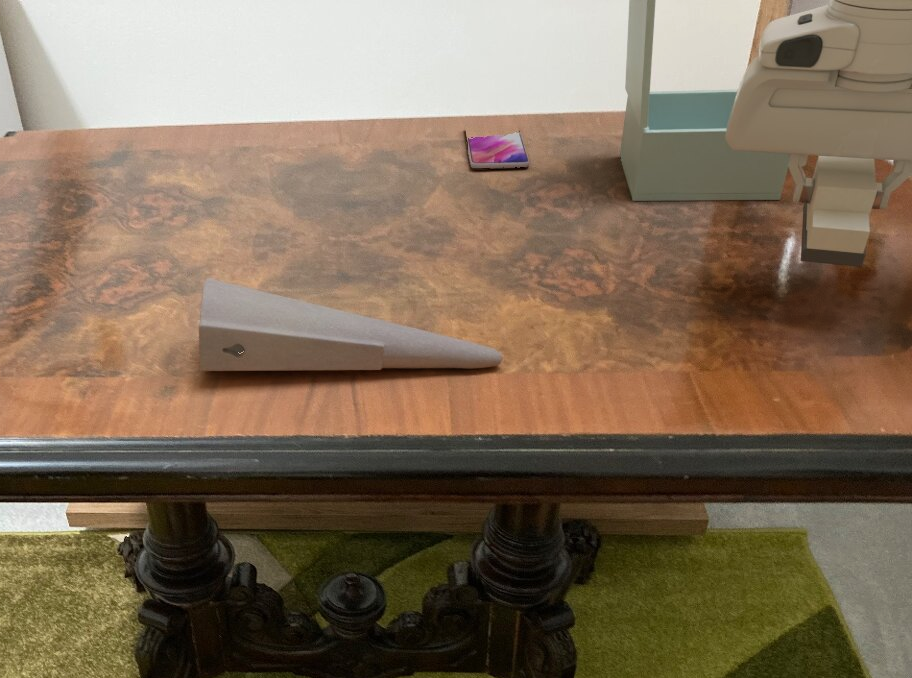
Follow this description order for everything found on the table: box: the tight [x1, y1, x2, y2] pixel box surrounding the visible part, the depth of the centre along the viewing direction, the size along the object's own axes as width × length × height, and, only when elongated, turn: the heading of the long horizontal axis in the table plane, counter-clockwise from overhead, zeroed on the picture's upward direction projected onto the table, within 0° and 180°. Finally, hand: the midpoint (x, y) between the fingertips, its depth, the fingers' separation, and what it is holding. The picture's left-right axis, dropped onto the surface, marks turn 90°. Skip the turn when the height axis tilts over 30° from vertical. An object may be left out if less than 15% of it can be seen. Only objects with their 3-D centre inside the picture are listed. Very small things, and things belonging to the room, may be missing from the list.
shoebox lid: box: [624, 0, 656, 128], centre depth 99 cm, size 16×14×5 cm
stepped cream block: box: [800, 156, 877, 268], centre depth 79 cm, size 11×5×5 cm, turn 157°
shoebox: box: [619, 89, 789, 202], centre depth 105 cm, size 16×14×8 cm
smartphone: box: [467, 132, 530, 169], centre depth 119 cm, size 7×1×15 cm
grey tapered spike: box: [198, 277, 503, 372], centre depth 81 cm, size 8×9×26 cm
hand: (837, 203), depth 80 cm, fingers closed on stepped cream block, 4 cm apart
